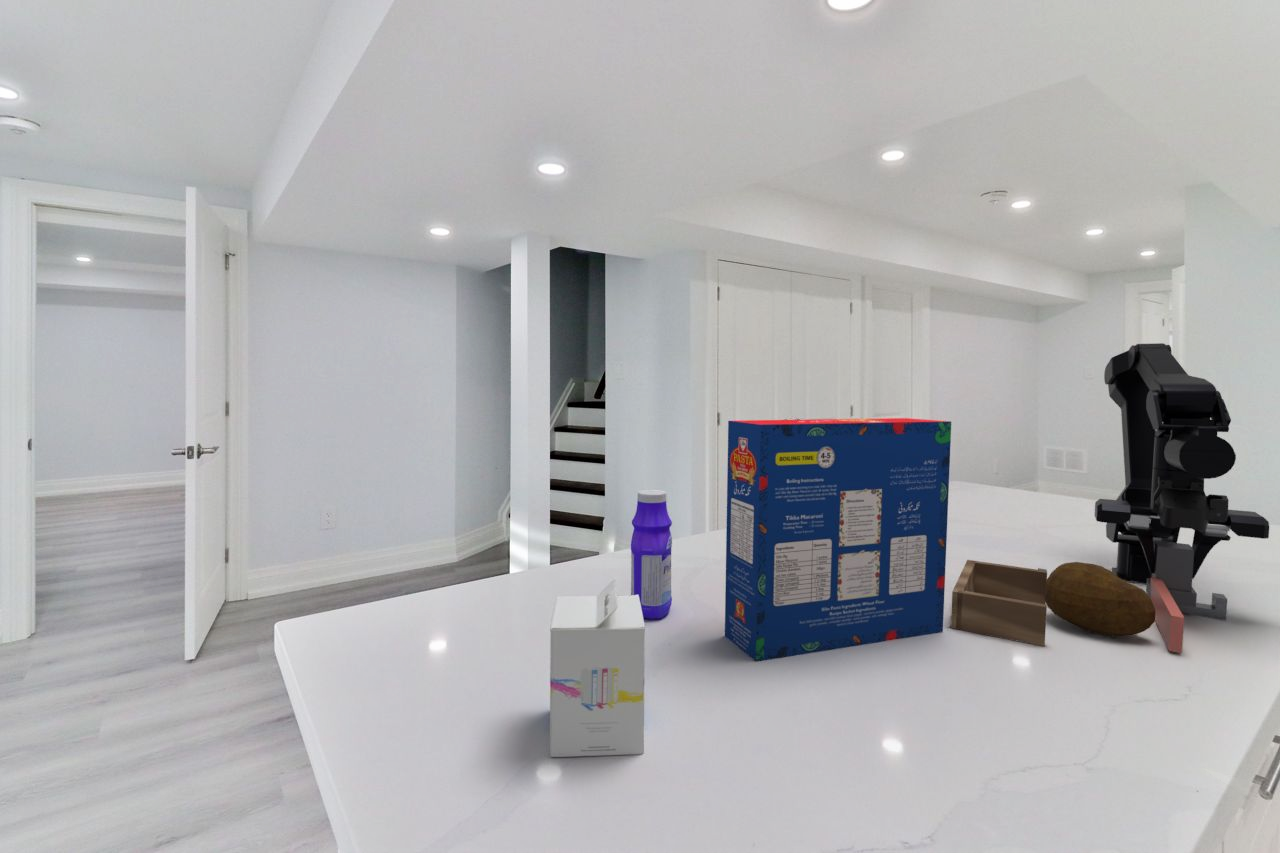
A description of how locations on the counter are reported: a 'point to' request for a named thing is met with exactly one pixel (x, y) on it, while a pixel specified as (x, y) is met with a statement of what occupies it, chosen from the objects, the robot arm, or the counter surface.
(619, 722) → the ink box
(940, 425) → the pasta box
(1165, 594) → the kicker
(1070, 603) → the potato
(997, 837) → the counter surface
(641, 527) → the bottle
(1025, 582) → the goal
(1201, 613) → the rail
